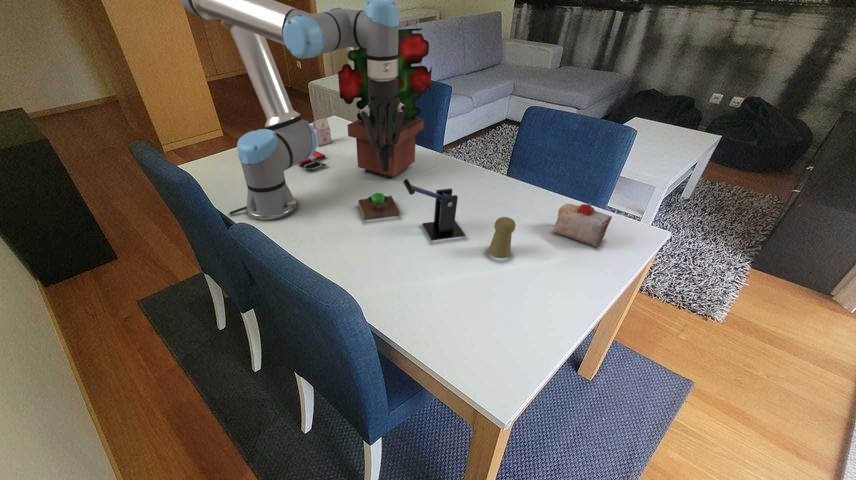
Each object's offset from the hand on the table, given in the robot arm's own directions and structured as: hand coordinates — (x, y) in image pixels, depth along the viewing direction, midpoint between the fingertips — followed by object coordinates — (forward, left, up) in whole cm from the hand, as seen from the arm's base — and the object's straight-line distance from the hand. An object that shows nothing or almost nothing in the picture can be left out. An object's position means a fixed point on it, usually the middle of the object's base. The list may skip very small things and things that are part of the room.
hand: (384, 169), depth 109 cm
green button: (-1, +4, -12) cm, 13 cm away
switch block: (-1, +4, -16) cm, 17 cm away
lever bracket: (+15, -12, -16) cm, 25 cm away
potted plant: (+9, +35, -16) cm, 39 cm away
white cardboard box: (-12, +68, -16) cm, 71 cm away
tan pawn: (+26, -26, -16) cm, 40 cm away
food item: (+52, -23, -16) cm, 59 cm away
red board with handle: (-23, +54, -16) cm, 61 cm away
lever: (+9, -12, -4) cm, 16 cm away
